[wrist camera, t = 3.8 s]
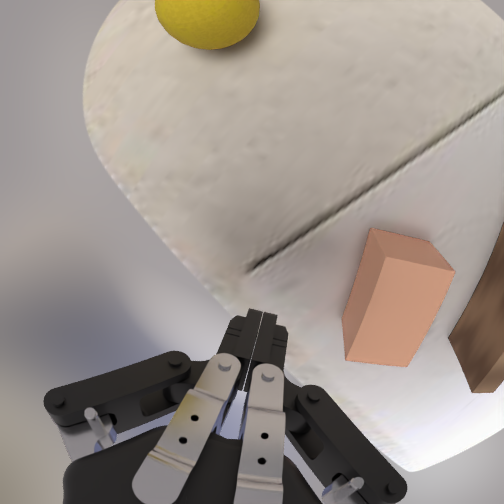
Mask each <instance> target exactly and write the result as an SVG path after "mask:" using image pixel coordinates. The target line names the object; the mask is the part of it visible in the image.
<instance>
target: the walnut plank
mask: <svg viewBox="0 0 504 504" xmlns="http://www.w3.org/2000/svg"><path fill="white" fill-rule="evenodd" d="M448 339H449V341H450V343H451V345H452V347H453V349H454V352H455V354H456V356H457V358H458V360H459V363H460V365H461V367H462V370H463V372H464V374H465V377H466V379H467V382H468V384H469V387H470V389H471V392H472V393H493V392H494V391H495V390H496V389H497V388H498V387H499V385H500V384H501V383H502V382H503V380H504V223H503V226H502V229H501V232H500V234H499V237H498V240H497V242H496V245H495V247H494V250H493V252H492V255H491V257H490V259H489V262H488V264H487V266H486V269H485V271H484V273H483V275H482V277H481V279H480V282H479V284H478V286H477V288H476V290H475V292H474V294H473V296H472V297H471V299H470V301H469V303H468V305H467V307H466V309H465V311H464V312H463V314H462V316H461V318H460V319H459V321H458V323H457V324H456V326H455V328H454V329H453V331H452V333H451V334H450V336H449V338H448Z"/></svg>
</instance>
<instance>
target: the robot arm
mask: <svg viewBox="0 0 504 504" xmlns="http://www.w3.org/2000/svg"><path fill="white" fill-rule="evenodd" d="M262 313H263V312H262V311H258V310H254V309H250V308H249V310H248V313H247V316H246V317H242V316H238V315H237V316H235V317H234V318H233V319H232V320H230V323H229V325H228V328H227V330H226V333H225V335H224V337H223V340H222V342H221V345H220V347H219V349H218V352H217V354H216V355H214V356H213V357H212V358H211V359H210V360H207V361H191V360H190V358H189V357H188V356H187V355H186V354H185V353H183V352H179V351H170V352H166V353H163V354H161V355H158V356H155V357H152V358H149V359H147V360H144V361H141V362H138V363H135V364H132V365H129V366H126V367H123V368H120V369H117V370H114V371H111V372H108V373H105V374H102V375H98V376H95V377H92V378H89V379H86V380H82V381H78V382H75V383H72V384H68V385H65V386H61V387H58V388H54V389H51V390H50V391H48V393H46V395H45V397H44V406H45V408H46V410H47V412H48V413H49V415H50V416H51V419H52V420H53V422H54V423H55V425H56V426H57V427H58V429H59V431H60V434H61V437H62V439H63V442H64V445H65V447H66V449H67V452H68V454H69V456H70V459H71V461H72V463H71V464H70V465H69V466H68V467H67V469H66V471H65V473H64V477H63V489H64V499H63V504H322V503H321V501H320V500H319V498H318V497H317V495H316V494H315V493H314V491H313V490H312V488H311V487H310V485H309V484H308V483H307V481H306V480H305V478H304V477H303V475H302V474H301V472H300V471H299V469H298V468H297V467H296V465H295V464H294V463H293V462H292V461H291V460H290V459H289V458H288V457H286V456H285V455H284V437H285V435H286V436H287V437H288V439H289V440H290V442H291V443H292V445H293V446H294V447H295V449H296V450H297V451H298V453H299V454H300V455H301V457H302V458H303V460H304V461H305V462H306V464H307V465H308V466H309V468H310V469H311V470H312V472H314V474H315V475H316V477H317V478H318V479H319V481H321V483H322V484H323V486H324V487H325V489H324V491H323V492H322V500H323V502H324V504H395V503H397V502H399V501H400V500H401V499H403V498H404V496H405V495H406V492H407V484H406V481H405V480H404V478H402V476H401V475H400V474H399V473H398V472H397V471H396V470H395V469H394V468H393V467H392V466H391V464H390V463H388V461H387V460H386V459H385V458H384V457H383V456H382V455H381V454H380V452H379V451H378V450H377V449H376V448H375V447H374V446H373V445H372V444H371V443H370V441H369V440H368V439H367V438H366V437H365V436H364V435H363V434H362V432H361V431H360V430H359V429H358V428H357V427H356V426H355V425H354V423H353V422H352V421H351V420H350V419H349V418H348V417H347V415H346V414H345V413H344V412H343V411H342V410H341V409H340V407H339V406H338V405H337V404H336V403H335V402H334V401H333V399H332V398H331V397H330V396H329V395H328V394H327V392H326V391H325V390H324V389H322V388H321V387H319V386H316V385H306V386H303V387H302V388H301V387H299V386H297V385H294V384H293V383H291V382H290V381H289V380H288V379H287V378H286V377H285V375H284V371H283V369H284V362H285V355H286V347H287V340H288V332H287V330H286V327H284V326H280V325H276V320H277V315H275V314H271V313H267V312H264V314H263V317H262ZM261 317H262V321H261ZM260 321H261V325H260ZM259 326H260V329H259ZM258 330H259V333H258ZM257 334H258V336H257ZM256 338H257V340H256ZM255 342H256V344H255ZM254 346H255V348H254ZM253 349H254V351H253ZM252 353H253V355H252ZM251 357H252V359H251ZM250 360H251V363H250ZM249 364H250V367H249ZM248 368H249V371H248ZM247 371H248V375H247V379H246V383H245V387H244V391H245V392H247V395H246V399H245V403H244V407H243V413H242V418H241V424H240V430H239V436H238V439H226V438H224V437H222V436H220V432H221V430H222V427H223V425H224V423H225V420H226V418H227V415H228V413H229V411H230V408H231V406H232V403H233V400H234V399H235V397H236V394H237V391H238V390H241V391H242V389H243V385H244V382H245V378H246V374H247ZM176 410H177V411H176ZM174 411H176V413H175V414H174V416H173V418H172V419H171V421H170V423H169V424H168V425H167V426H160V427H156V428H153V429H151V430H149V431H147V432H144V433H142V434H140V435H138V436H135V437H133V438H131V439H128V440H126V441H123V442H121V443H118V444H116V445H113V444H114V443H115V441H116V439H117V434H119V433H122V432H124V431H126V430H130V429H132V428H135V427H137V426H140V425H143V424H145V423H148V422H150V421H153V420H155V419H157V418H160V417H162V416H164V415H167V414H169V413H171V412H174ZM112 445H113V446H112ZM110 446H111V447H110Z"/></svg>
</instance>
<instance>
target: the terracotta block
mask: <svg viewBox="0 0 504 504" xmlns="http://www.w3.org/2000/svg"><path fill="white" fill-rule="evenodd" d="M454 274H455V271H454V269H453V268H452V267H451V266H450V265H449V263H448V262H447V261H446V260H445V259H444V258H443V256H442V255H441V254H440V253H439V252H438V251H437V249H436V248H435V247H434V246H433V245H432V244H431V243H430V242H429V241H425V240H421V239H417V238H413V237H409V236H404V235H400V234H396V233H392V232H387V231H383V230H378V229H374V228H370V231H369V234H368V238H367V242H366V245H365V249H364V252H363V255H362V259H361V262H360V266H359V269H358V272H357V275H356V278H355V281H354V285H353V288H352V291H351V294H350V297H349V300H348V303H347V305H346V308H345V311H344V314H343V317H342V327H343V338H344V350H345V360H346V361H354V362H362V363H370V364H379V365H389V366H400V367H407V366H408V365H409V363H410V361H411V360H412V358H413V356H414V355H415V353H416V351H417V350H418V348H419V346H420V344H421V343H422V341H423V339H424V337H425V335H426V334H427V332H428V330H429V328H430V326H431V324H432V322H433V320H434V318H435V316H436V314H437V312H438V310H439V308H440V306H441V304H442V302H443V300H444V298H445V295H446V293H447V291H448V289H449V286H450V284H451V282H452V279H453V277H454Z"/></svg>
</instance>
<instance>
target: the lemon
mask: <svg viewBox="0 0 504 504" xmlns="http://www.w3.org/2000/svg"><path fill="white" fill-rule="evenodd" d="M259 8H260V3H259V0H155V11H156V14H157V18H158V20H159V22H160V23H161V25H162V26H163V27H164V29H165V30H166V31H167V32H168V33H169V34H170V35H171V36H172V37H174V38H175V39H177V40H178V41H179V42H181V43H183V44H186V45H188V46H191V47H194V48H198V49H208V50H212V49H221V48H225V47H228V46H231V45H233V44H235V43H237V42H239V41H241V40H242V39H243V38H244V37H246V36H247V35H248V34H249V33H250V32H251V30H252V29H253V28H254V26H255V24H256V22H257V20H258V17H259Z"/></svg>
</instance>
